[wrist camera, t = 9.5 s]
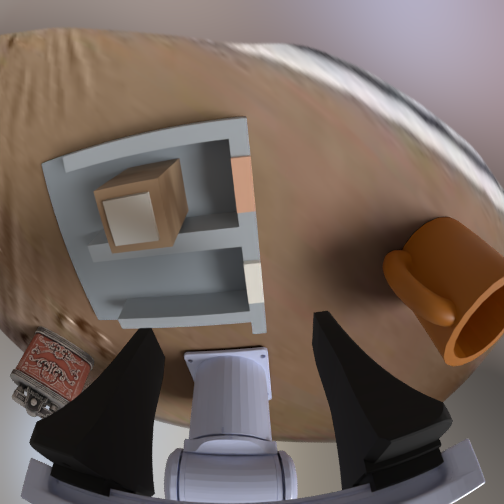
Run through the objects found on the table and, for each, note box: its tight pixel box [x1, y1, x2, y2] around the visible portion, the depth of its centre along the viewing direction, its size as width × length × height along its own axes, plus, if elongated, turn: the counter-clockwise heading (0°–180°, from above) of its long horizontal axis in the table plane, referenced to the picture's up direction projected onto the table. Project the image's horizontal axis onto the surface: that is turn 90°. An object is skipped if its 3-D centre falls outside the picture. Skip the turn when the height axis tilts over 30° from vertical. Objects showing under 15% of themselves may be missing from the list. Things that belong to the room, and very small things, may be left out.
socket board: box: [42, 116, 267, 334], centre depth 18 cm, size 14×15×4 cm
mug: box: [383, 217, 504, 366], centre depth 18 cm, size 9×12×9 cm
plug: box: [93, 158, 189, 254], centre depth 15 cm, size 4×4×5 cm
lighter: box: [10, 326, 94, 419], centre depth 21 cm, size 8×3×10 cm, turn 54°
